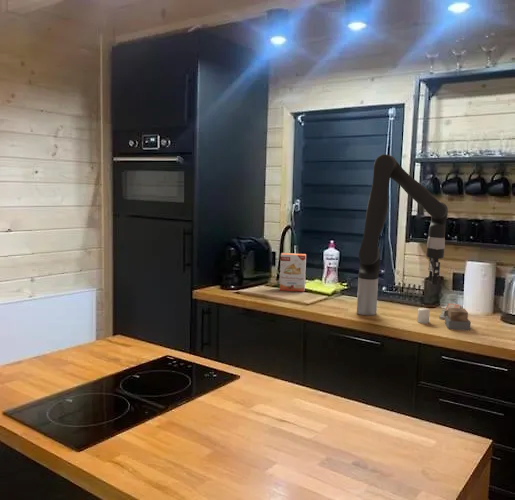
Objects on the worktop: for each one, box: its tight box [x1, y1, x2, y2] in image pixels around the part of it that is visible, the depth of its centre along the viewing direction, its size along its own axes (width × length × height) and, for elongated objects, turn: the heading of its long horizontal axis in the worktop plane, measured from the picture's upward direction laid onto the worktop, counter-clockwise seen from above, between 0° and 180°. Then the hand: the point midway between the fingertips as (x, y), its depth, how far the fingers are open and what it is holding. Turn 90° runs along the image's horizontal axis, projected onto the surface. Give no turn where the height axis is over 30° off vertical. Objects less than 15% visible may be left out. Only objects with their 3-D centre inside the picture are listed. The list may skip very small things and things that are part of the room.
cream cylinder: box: [416, 307, 431, 325], centre depth 251 cm, size 5×5×6 cm
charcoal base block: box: [444, 316, 471, 331], centre depth 245 cm, size 9×9×4 cm
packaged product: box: [439, 302, 462, 321], centre depth 264 cm, size 18×5×10 cm
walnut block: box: [448, 307, 469, 322], centre depth 244 cm, size 7×7×4 cm
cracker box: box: [279, 252, 307, 293], centre depth 311 cm, size 14×6×21 cm, turn 81°
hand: (432, 282), depth 251 cm, fingers open, 8 cm apart
